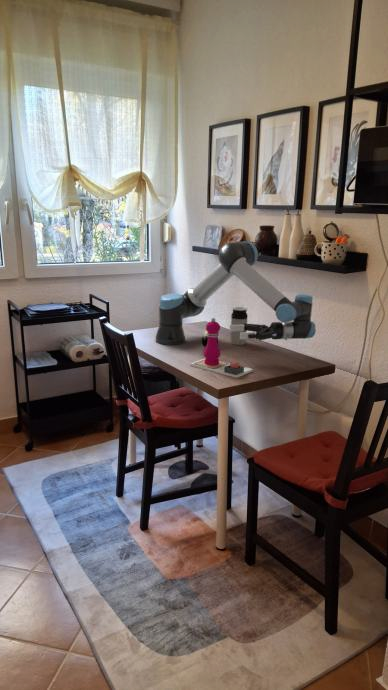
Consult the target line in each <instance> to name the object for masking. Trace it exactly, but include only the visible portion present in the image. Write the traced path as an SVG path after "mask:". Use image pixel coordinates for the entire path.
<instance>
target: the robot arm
mask: <svg viewBox="0 0 388 690" xmlns="http://www.w3.org/2000/svg"><path fill="white" fill-rule="evenodd" d="M258 258H259V252H258V249H257V246H256V245H255V244H254V243H252V242H251V241H247V240H246V241H245V240H243V241H231V242H227V243H225V244H223V246H221V248H220V249H219V252H218V261H219V264H217V265H216V266H215V267H214V268H213V270H211V271H210V272H209V273H208V274H207V275H206V277H204V278H203V279H202V280H201V281H199V283H198V284H197V285H196V286H195V287H191V288H189V289H188V290H186V292H184V293H183V294H182V293H181V294H180V293H167V294H164V295H163V294H162V296H160V297H159V304H158V315H159V316H158V321H159V323H158V325H159V326H158V329H157V332H156V335H155V342H156V343H158V344H162V345H171V346H172V345H173V346H175V345H176V346H177V345H181V344H184V343H185V342H186V335H185V331H184V328H183V319H187V318H192V317H196V316H198V315H200V314H201V313H202V312H203V311H204V310H205V307H206V304H207V300H208V299H209V298H210V297H212V295H213V294H215V293H216V292H217V291H218V290H219V289H220V288H221V287H222V286H224V285H225V283H227V281H229V280H230V279H231V278H232V277H233V276H235V277H236V278H237V279H239V280H240V281H241V282H242V283H243V284H244V285H245V286H246V287H248V288H249V289H250V290H251V291H252V292H253V293H254V294H255V295H256V296H257V297H258V298H259V299H261V300H262V301H263V302H264V303H265V304H266V305H268V306H269V307H270V308H271V309H272V310H273V311H274V312H275V317H276V319H277V320H278V322H277V321H274V322H271V323H270V325H269V326H268V325H266V324H257V323H256V324H254V323H247V324H246V323H244V324H243V325H231V324H229V332H231V331H243V333H240V339H246V340H258V341H264V340H269V339H272V340H285V341H287V340H289V339H290V340H291V339H295V340H296V339H297V340H298V339H299V340H300V339H303V340H304V339H311V338H314V336H315V335H316V332H317V331H316V330H317V329H316V324H315V323H314V322H313V321H311V319H312V318H311V317H312V309H313V296H312V295H310V294H304V293H303V294H301V293H300V294H299V293H298V294H296V295H295V297H294V301H291V300H290V299H289V298H288V297H287V296H285V294H284V293H282V292H281V291H280V290H279V289H277V288H276V286H274V285H273V284H272V283H271V282H269V281H268V280H267V279H266V278H265V277H263V275H261V274H260V273H259V272H258V271H257V270H256V269H254V267H253V266H254V265H255V264H256V263H257V262H258ZM245 330H246V331H248V332H244V331H245Z"/></svg>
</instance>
